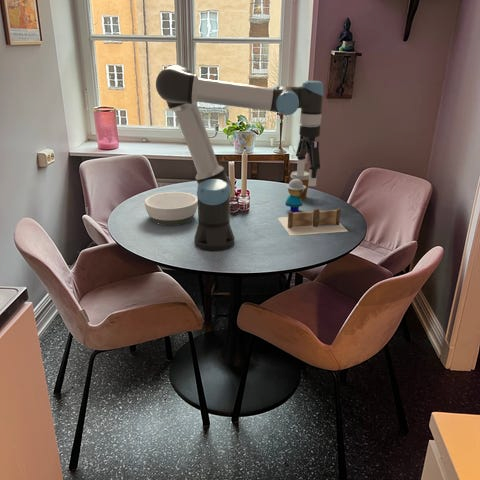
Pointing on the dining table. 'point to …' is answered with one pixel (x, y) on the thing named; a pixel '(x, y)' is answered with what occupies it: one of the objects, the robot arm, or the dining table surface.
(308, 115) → the robot arm
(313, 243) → the dining table surface
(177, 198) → the bowl
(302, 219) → the fence gate
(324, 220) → the fence fixed
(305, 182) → the disposable coffee cup
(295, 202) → the toy
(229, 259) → the dining table surface
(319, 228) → the card
